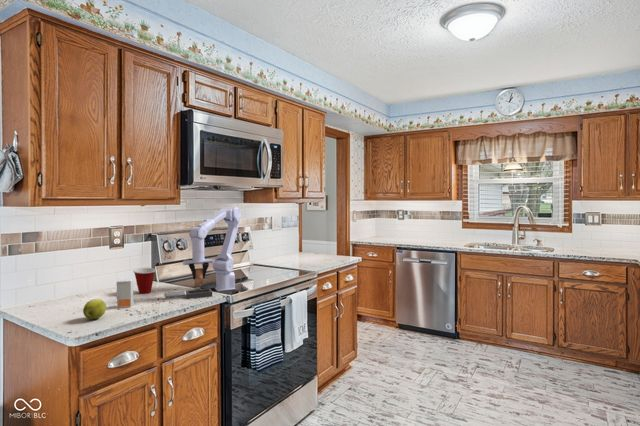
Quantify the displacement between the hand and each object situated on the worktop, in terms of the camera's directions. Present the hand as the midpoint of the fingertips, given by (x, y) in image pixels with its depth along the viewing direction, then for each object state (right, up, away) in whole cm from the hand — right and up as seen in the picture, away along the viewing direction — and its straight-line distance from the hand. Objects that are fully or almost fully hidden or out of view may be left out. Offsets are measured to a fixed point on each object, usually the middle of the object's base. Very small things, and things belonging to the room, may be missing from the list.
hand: (198, 278), depth 203 cm
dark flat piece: (0, -9, 0) cm, 9 cm away
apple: (-32, -11, -36) cm, 49 cm away
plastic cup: (-30, -9, +8) cm, 33 cm away
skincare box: (-28, -10, -18) cm, 35 cm away
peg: (0, -3, 0) cm, 3 cm away
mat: (-13, -9, +3) cm, 16 cm away
